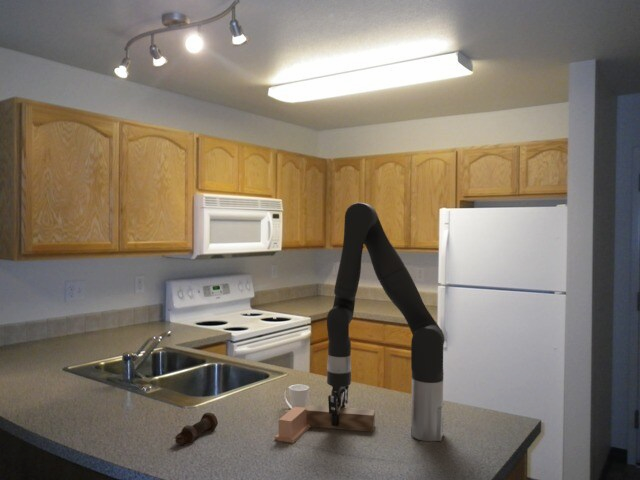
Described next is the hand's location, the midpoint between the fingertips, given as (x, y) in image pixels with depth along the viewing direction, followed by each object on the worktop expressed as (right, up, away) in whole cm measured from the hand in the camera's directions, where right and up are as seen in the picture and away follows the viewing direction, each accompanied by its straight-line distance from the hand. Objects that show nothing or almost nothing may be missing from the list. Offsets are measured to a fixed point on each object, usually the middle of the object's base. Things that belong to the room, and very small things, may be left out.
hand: (338, 422), depth 166 cm
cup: (-14, -1, +14) cm, 20 cm away
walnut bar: (0, -1, 0) cm, 1 cm away
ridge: (-14, -1, -7) cm, 16 cm away
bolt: (-43, -1, -10) cm, 44 cm away
